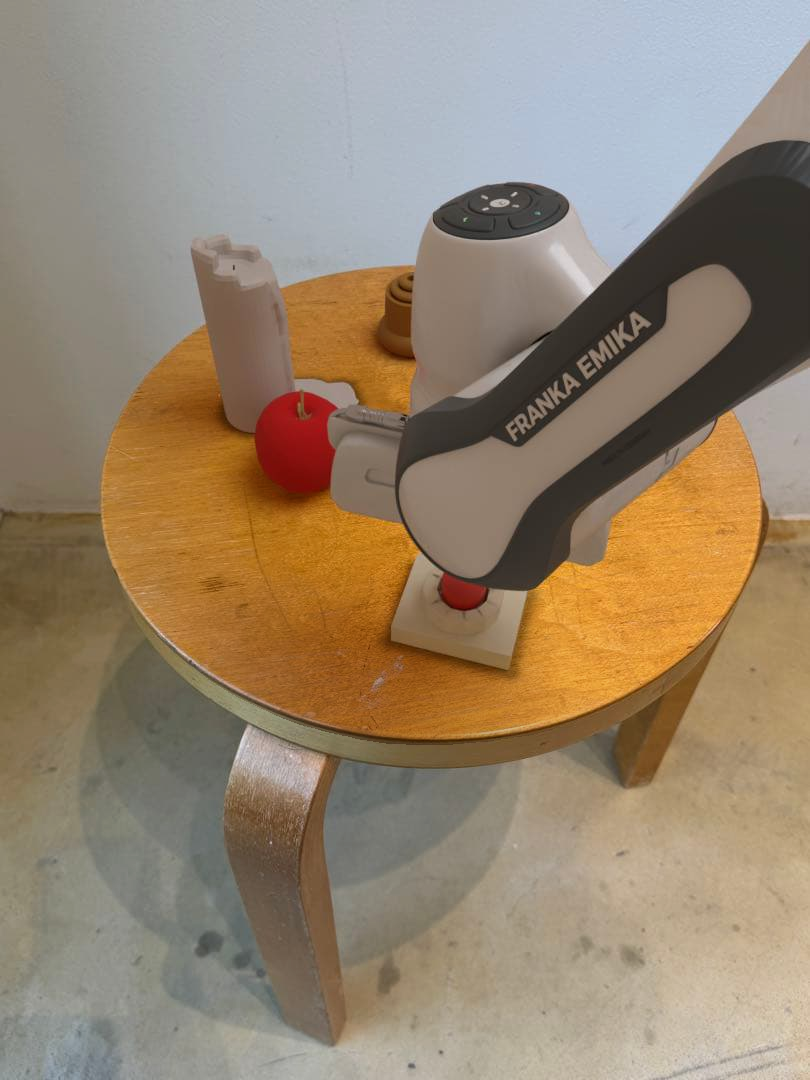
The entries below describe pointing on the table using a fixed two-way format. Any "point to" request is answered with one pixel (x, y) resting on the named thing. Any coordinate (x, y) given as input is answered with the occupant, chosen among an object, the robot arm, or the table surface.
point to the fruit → (296, 442)
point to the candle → (250, 331)
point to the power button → (461, 593)
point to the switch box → (457, 620)
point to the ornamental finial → (398, 316)
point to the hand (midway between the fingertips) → (463, 561)
